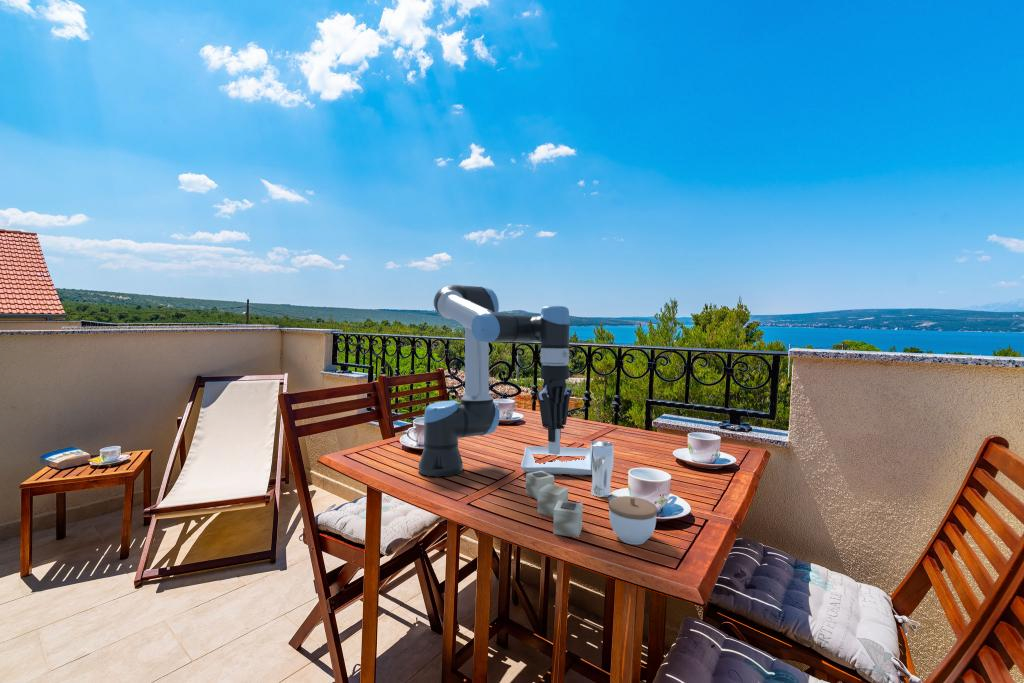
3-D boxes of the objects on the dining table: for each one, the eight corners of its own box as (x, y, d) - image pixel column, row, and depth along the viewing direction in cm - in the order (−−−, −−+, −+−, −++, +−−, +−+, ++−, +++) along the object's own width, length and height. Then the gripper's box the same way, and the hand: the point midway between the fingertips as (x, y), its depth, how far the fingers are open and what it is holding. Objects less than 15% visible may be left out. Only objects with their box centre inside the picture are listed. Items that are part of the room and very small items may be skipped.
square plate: (593, 457, 160) (593, 447, 160) (602, 481, 133) (602, 469, 133) (525, 454, 163) (525, 444, 163) (519, 477, 136) (520, 465, 136)
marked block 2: (553, 534, 96) (553, 508, 96) (557, 523, 101) (558, 499, 101) (578, 538, 94) (579, 512, 94) (582, 526, 100) (582, 502, 100)
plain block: (537, 513, 107) (537, 490, 107) (547, 505, 112) (548, 483, 112) (557, 518, 104) (558, 495, 104) (567, 510, 109) (568, 488, 109)
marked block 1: (525, 493, 121) (525, 473, 121) (541, 489, 124) (542, 469, 124) (537, 500, 116) (537, 479, 116) (553, 495, 119) (554, 475, 119)
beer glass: (595, 499, 117) (596, 447, 117) (585, 490, 123) (585, 441, 123) (617, 497, 118) (618, 445, 118) (605, 488, 125) (606, 440, 125)
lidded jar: (648, 528, 99) (648, 489, 99) (663, 551, 88) (663, 508, 88) (604, 526, 100) (604, 488, 100) (613, 549, 89) (614, 506, 89)
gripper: (551, 366, 101) (550, 461, 100) (580, 364, 110) (579, 451, 110) (528, 364, 106) (527, 455, 105) (557, 363, 115) (557, 446, 115)
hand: (554, 453), depth 108 cm, fingers closed
